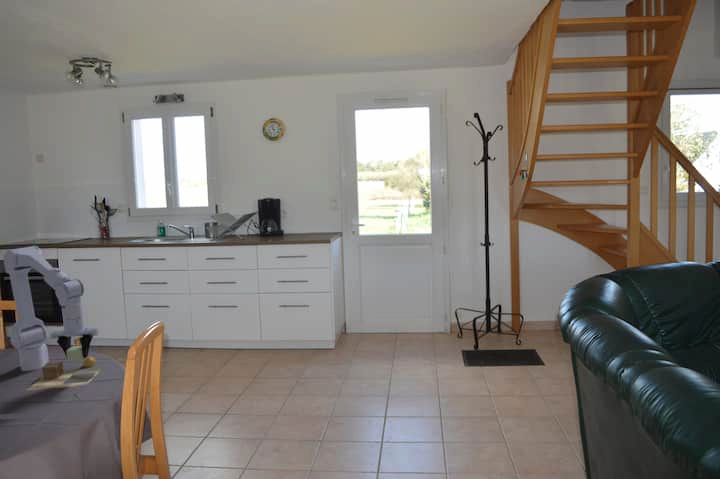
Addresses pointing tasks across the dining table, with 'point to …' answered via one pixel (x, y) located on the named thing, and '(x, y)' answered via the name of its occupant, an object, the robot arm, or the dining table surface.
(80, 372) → the baseplate
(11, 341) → the robot arm
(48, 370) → the walnut block
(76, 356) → the sage block
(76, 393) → the dining table surface
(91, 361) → the figurine
